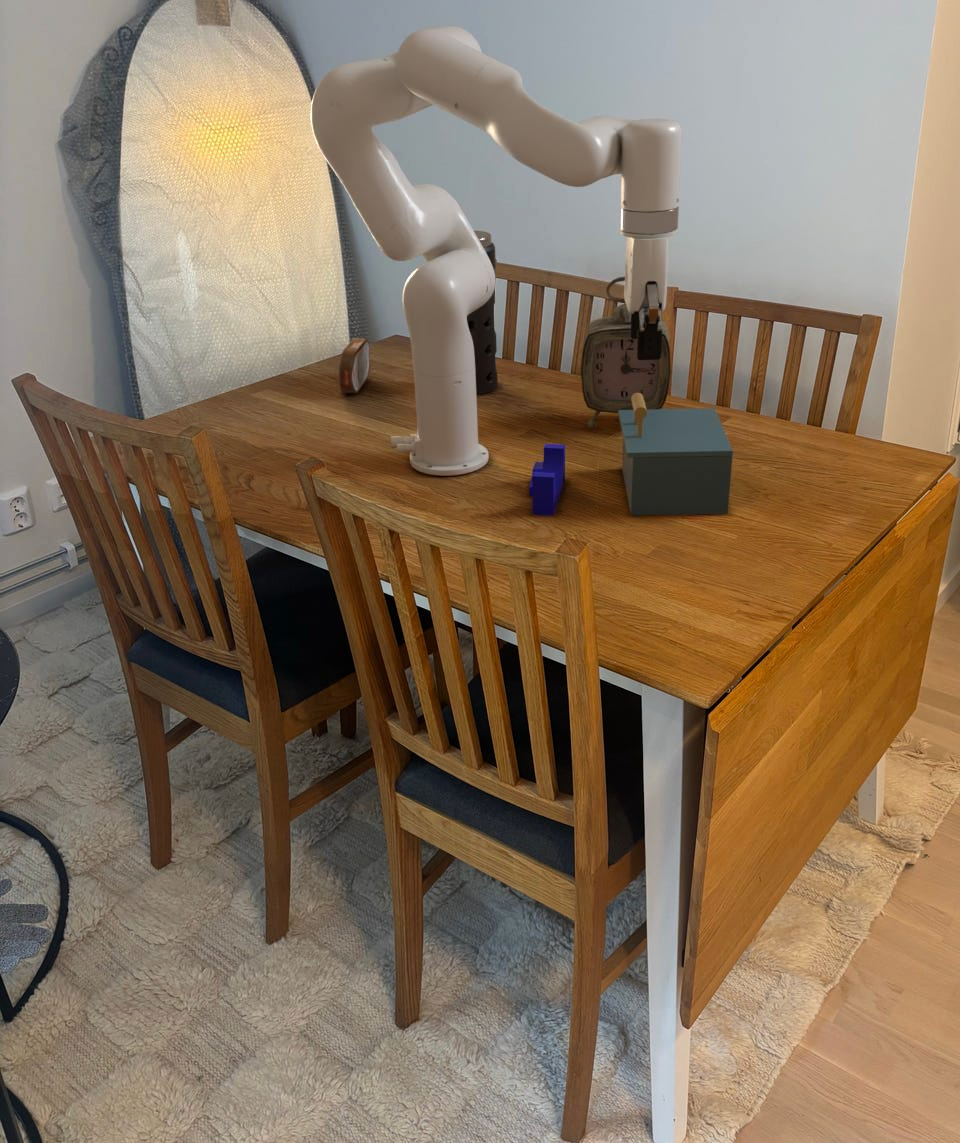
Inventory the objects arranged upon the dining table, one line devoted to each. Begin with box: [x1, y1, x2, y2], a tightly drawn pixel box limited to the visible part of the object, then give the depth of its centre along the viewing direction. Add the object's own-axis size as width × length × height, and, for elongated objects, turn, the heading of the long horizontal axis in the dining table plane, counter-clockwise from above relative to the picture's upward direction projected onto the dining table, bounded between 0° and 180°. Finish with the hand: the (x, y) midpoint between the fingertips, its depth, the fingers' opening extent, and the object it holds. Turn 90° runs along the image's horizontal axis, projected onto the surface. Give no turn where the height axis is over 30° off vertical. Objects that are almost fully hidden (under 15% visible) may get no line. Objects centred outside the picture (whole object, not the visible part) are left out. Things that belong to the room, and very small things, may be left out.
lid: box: [617, 393, 734, 458], centre depth 154 cm, size 14×17×5 cm
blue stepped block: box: [528, 443, 566, 517], centre depth 158 cm, size 12×4×6 cm, turn 168°
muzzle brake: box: [467, 230, 499, 396], centre depth 196 cm, size 10×28×10 cm
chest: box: [621, 438, 733, 516], centre depth 157 cm, size 14×17×9 cm
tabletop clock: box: [580, 275, 672, 429], centre depth 178 cm, size 14×9×25 cm, turn 83°
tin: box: [338, 337, 371, 394], centre depth 203 cm, size 15×3×8 cm, turn 172°
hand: (645, 348), depth 149 cm, fingers open, 9 cm apart
